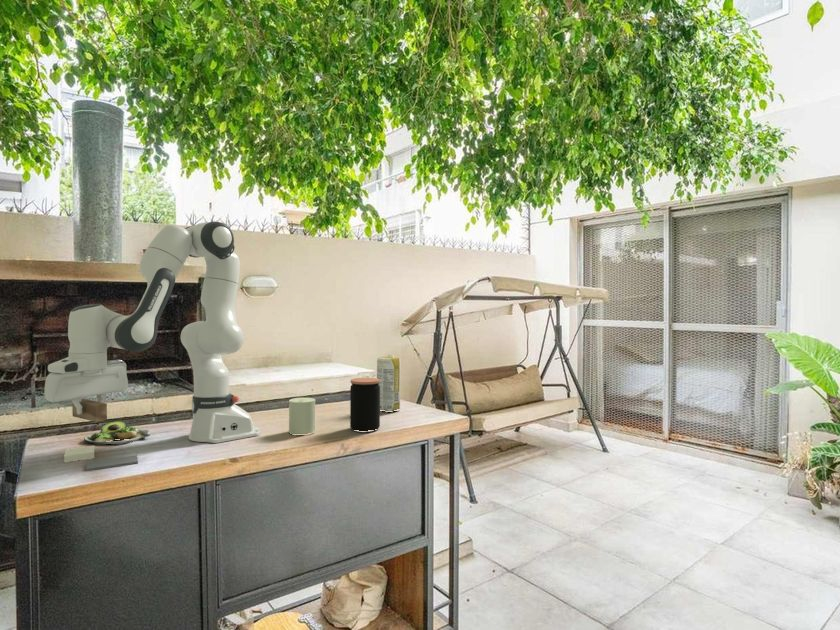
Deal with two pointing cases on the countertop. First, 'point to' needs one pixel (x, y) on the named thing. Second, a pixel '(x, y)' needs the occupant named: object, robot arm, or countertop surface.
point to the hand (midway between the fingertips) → (89, 412)
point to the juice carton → (389, 382)
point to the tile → (79, 453)
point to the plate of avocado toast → (116, 434)
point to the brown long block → (91, 410)
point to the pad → (112, 462)
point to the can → (301, 415)
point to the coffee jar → (365, 404)
